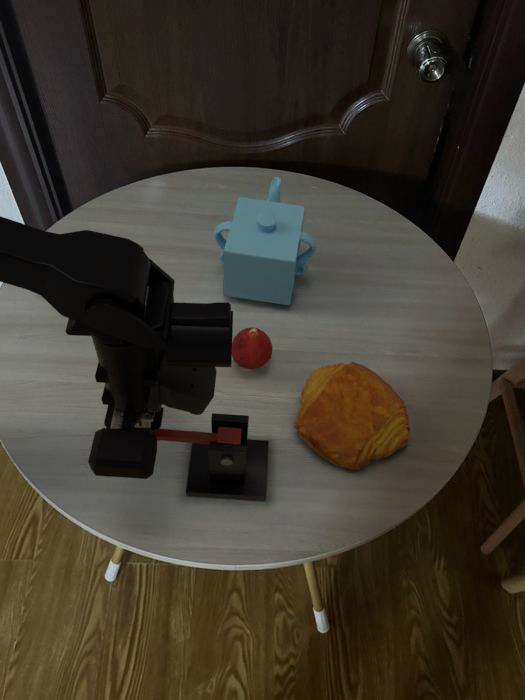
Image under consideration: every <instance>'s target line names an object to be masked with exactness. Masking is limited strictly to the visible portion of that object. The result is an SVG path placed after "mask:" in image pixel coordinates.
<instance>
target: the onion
mask: <svg viewBox="0 0 525 700" xmlns="http://www.w3.org/2000/svg"><path fill="white" fill-rule="evenodd" d="M272 355H273V343H272V341H271V338H270V336H269V335H268V334H267V333H266V332H265V331H264V330H262V329H260V328H258V327H245V328H244V329H242V330H240V331H238V333H236V335H235V336H233V338H232V361H234V362H235V363H236V365H238V366H239V367H241V368H244V369H246V370H251V371H252V370H258V369H261V368H263V367H264V366H266V365H267V364H268V363H269V362H270V360H271V358H272Z"/></svg>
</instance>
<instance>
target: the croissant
mask: <svg viewBox="0 0 525 700" xmlns="http://www.w3.org/2000/svg"><path fill="white" fill-rule="evenodd" d="M300 394H301V398H300V405H301V406H300V408H299V410H298V414H297V421H295V422H294V425H293V427H294V428H295V429H296V432H297V433H298V434H299V435H300V437H301V439H302V440H303V441H304V442H305V443H306V445H307V446H309V448H310V449H312V450H313V451H314V452H315V453H316V454H317V455H319V456H320V457H321V458H323V459H325V460H326V461H328V462H330V463H332V464H333V465H335V466H338V467H342V468H347V469H350V470H358V471H359V470H361V468H362V467H366V466H367V465H369V464H370V462H371V460H382V458H383V459H385V458H387V457H391V455H392V454H394V453H395V452H396V451H397V450H398V449H402V448H404V447H405V446H406V445H407V444H408V442H409V440H410V439H409V437H410V432H411V428H410V423H409V422H410V421H409V420H410V419H409V414H408V409H407V404H406V403H405V401H404V400H403V398H401V397H400V395H398V393H397V391H396V390H394V388H393V387H392V385H390V384H389V383H388V382H386V381H385V380H384V379H383V377H381V376H380V375H379V374H377V372H375V371H373V370H372V369H370V368H369V367H367V366H365V365H363V364H361V363H358V362H355V361H351V362H349V363H345V362H338V363H337V364H332V365H331V364H328V365H325V366H320V367H318V368H317V369H315V370H314V371H313V372H312V374H310V376H309V378H308V379H307V381H306V382H305V384H304V386H303V387H302V390H301V393H300Z"/></svg>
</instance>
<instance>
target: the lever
mask: <svg viewBox="0 0 525 700" xmlns="http://www.w3.org/2000/svg"><path fill="white" fill-rule="evenodd" d="M241 430H242V429H241V428H232V427H218V432H217V433H212V432H210V431H209V432H208V431H195V430H184V429H171V428H160V429H159V430H157V431H155V432H150V433H152V434H154V435H156V436H157V441H160V442H162V441H163V442H174V443H175V442H176V443H187V444H192V443H197V444H209V443H213V444H229V445H240V443H241Z"/></svg>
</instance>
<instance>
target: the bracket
mask: <svg viewBox="0 0 525 700" xmlns="http://www.w3.org/2000/svg"><path fill="white" fill-rule="evenodd" d="M249 418H250V417H249V415H247V414H246V415H245V414H231V413H230V414H229V413H216V412H213V413H212V412H211V419H210V423H211V433H217V432H218V427H232V428H241V429H242V430H241V443H240V445H229V444H213V443H209V444H197V443H191V449H190V454H189V455H190V456H189V464H188V472H187V479H186V486H185V487H186V488H185V496H186V497H195V498H207V499H208V498H211V499H224V500H225V499H226V500H242V501H257V502H258V501H259V502H266V501H267V486H268V485H267V484H268V463H269V444H270V443H269V442H270V441H269V440H265V439H252V438H251V439H248V437H249V436H248V435H249V420H250V419H249Z"/></svg>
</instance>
